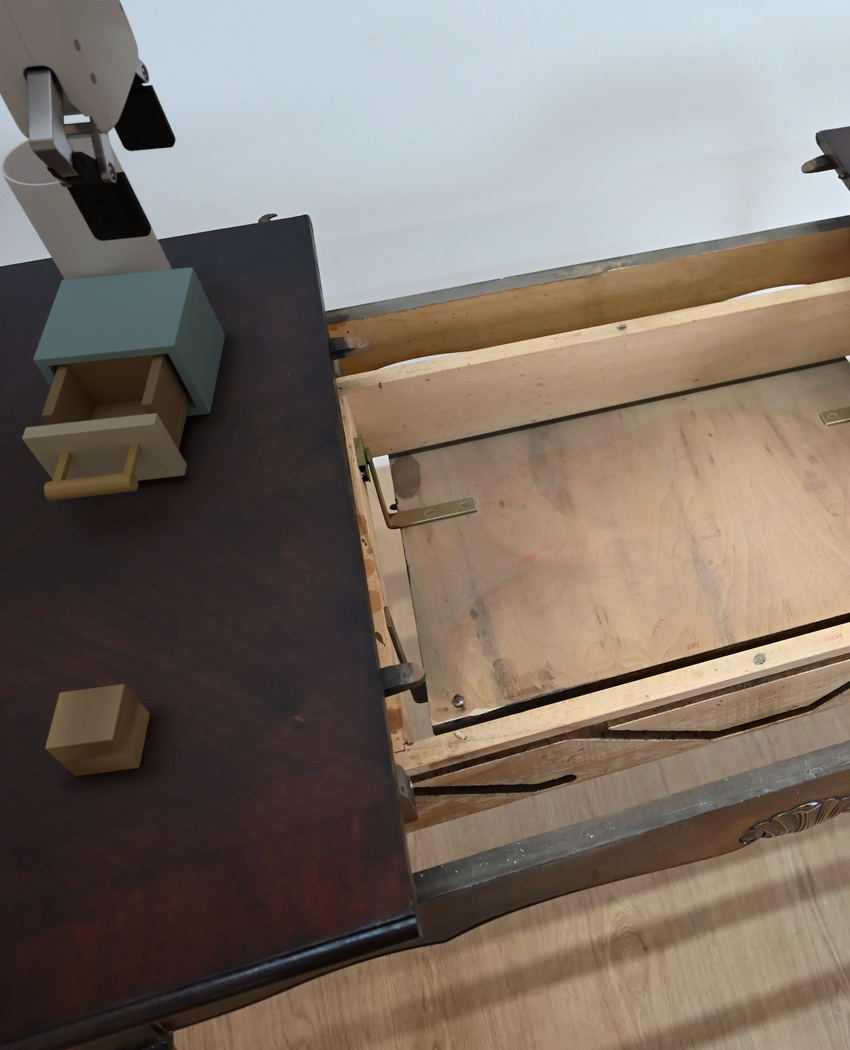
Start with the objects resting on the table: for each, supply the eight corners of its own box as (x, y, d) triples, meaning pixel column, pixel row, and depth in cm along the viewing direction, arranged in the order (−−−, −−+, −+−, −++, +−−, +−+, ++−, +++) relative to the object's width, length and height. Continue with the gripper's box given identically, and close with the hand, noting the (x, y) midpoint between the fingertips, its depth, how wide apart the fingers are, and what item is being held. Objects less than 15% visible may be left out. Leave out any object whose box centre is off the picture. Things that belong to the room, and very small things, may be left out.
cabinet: (210, 414, 87) (174, 345, 81) (78, 428, 86) (32, 360, 80) (225, 335, 93) (192, 266, 87) (102, 348, 92) (61, 279, 86)
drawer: (176, 517, 79) (144, 466, 74) (47, 532, 78) (6, 482, 73) (200, 397, 87) (173, 344, 82) (84, 409, 86) (49, 357, 81)
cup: (74, 334, 93) (-23, 177, 81) (127, 279, 98) (42, 122, 86) (155, 349, 92) (69, 191, 79) (204, 291, 97) (130, 135, 84)
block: (75, 777, 66) (44, 748, 63) (88, 721, 69) (59, 692, 66) (139, 768, 67) (112, 739, 64) (150, 713, 69) (124, 683, 66)
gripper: (-41, -169, 56) (103, 122, 70) (-149, -31, 46) (45, 282, 59) (103, -178, 57) (217, 112, 71) (29, -44, 46) (181, 268, 60)
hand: (139, 189), depth 65 cm, fingers open, 9 cm apart
